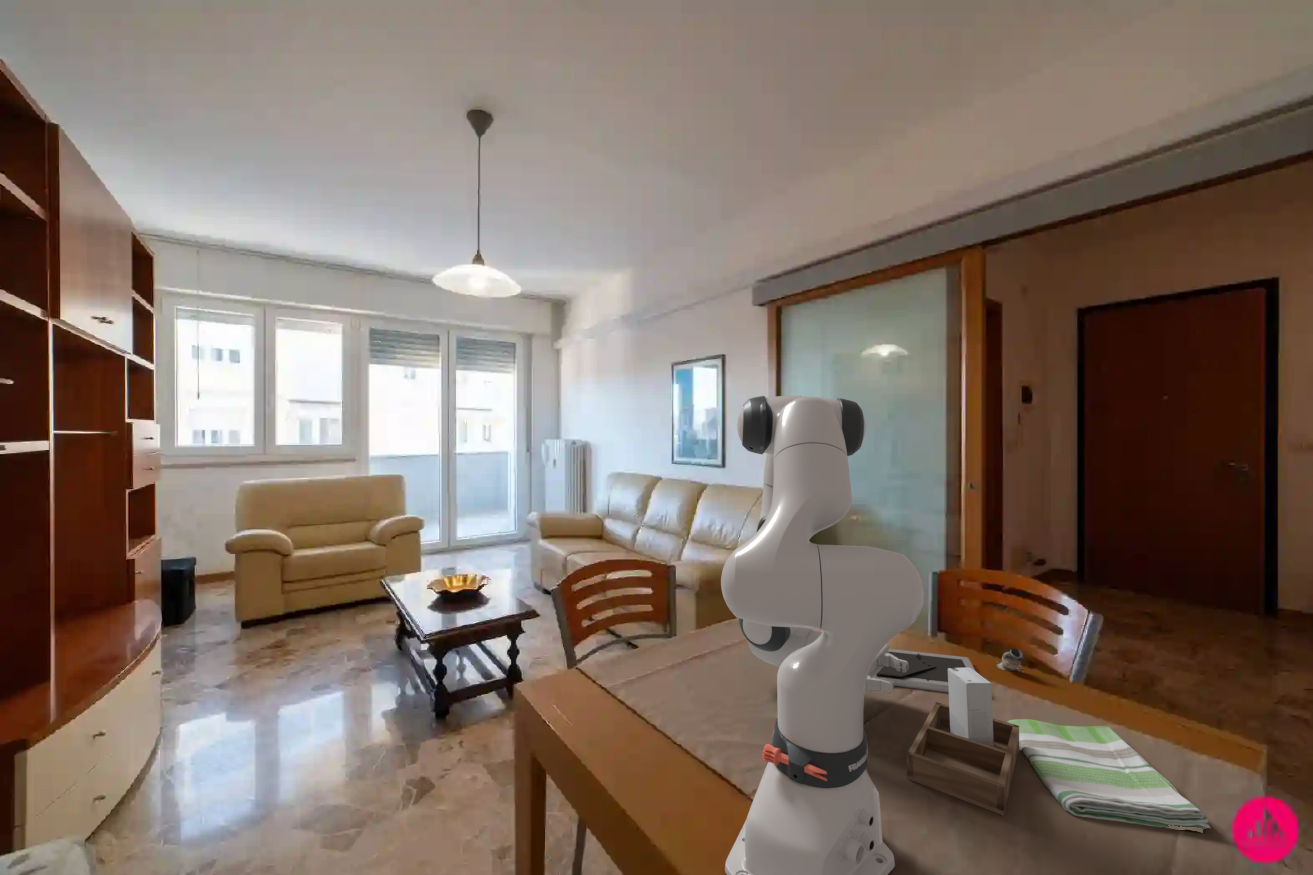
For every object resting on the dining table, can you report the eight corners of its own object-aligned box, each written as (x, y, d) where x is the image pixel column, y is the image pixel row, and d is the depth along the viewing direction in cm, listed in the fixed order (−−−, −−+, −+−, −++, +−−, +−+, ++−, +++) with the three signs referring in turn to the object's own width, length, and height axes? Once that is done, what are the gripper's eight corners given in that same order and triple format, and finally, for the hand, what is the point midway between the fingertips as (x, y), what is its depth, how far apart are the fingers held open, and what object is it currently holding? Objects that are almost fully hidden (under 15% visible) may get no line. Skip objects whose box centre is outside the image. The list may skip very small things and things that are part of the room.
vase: (1032, 680, 113) (1029, 652, 113) (1003, 679, 115) (1000, 651, 114) (1023, 668, 118) (1020, 642, 118) (995, 667, 120) (993, 641, 120)
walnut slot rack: (1003, 815, 74) (1003, 787, 74) (907, 778, 82) (907, 753, 82) (1019, 749, 89) (1019, 725, 89) (936, 723, 97) (936, 701, 97)
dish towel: (1063, 817, 75) (1063, 793, 74) (1002, 727, 97) (1002, 708, 97) (1215, 840, 70) (1215, 814, 70) (1114, 740, 92) (1114, 720, 92)
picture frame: (874, 686, 113) (986, 700, 106) (874, 672, 113) (986, 686, 106) (870, 655, 128) (968, 666, 121) (870, 643, 128) (968, 654, 121)
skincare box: (995, 757, 86) (995, 683, 86) (967, 757, 86) (967, 683, 86) (973, 735, 92) (972, 666, 92) (947, 735, 92) (946, 666, 92)
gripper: (803, 659, 97) (882, 681, 88) (844, 625, 113) (914, 641, 104) (803, 693, 97) (882, 718, 88) (844, 654, 113) (914, 673, 104)
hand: (900, 676), depth 96 cm, fingers open, 8 cm apart
